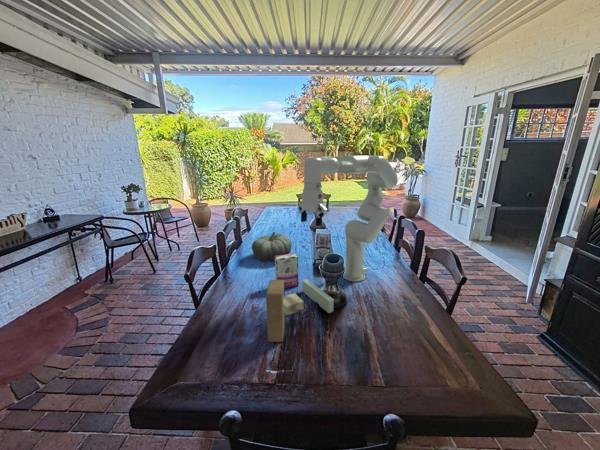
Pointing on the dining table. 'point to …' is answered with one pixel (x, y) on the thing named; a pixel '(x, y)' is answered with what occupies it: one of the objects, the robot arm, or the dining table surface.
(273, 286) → the decorative block
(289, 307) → the ash block
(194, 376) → the dining table surface
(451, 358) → the dining table surface
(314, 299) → the sage board
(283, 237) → the gourd
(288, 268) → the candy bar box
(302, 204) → the robot arm
